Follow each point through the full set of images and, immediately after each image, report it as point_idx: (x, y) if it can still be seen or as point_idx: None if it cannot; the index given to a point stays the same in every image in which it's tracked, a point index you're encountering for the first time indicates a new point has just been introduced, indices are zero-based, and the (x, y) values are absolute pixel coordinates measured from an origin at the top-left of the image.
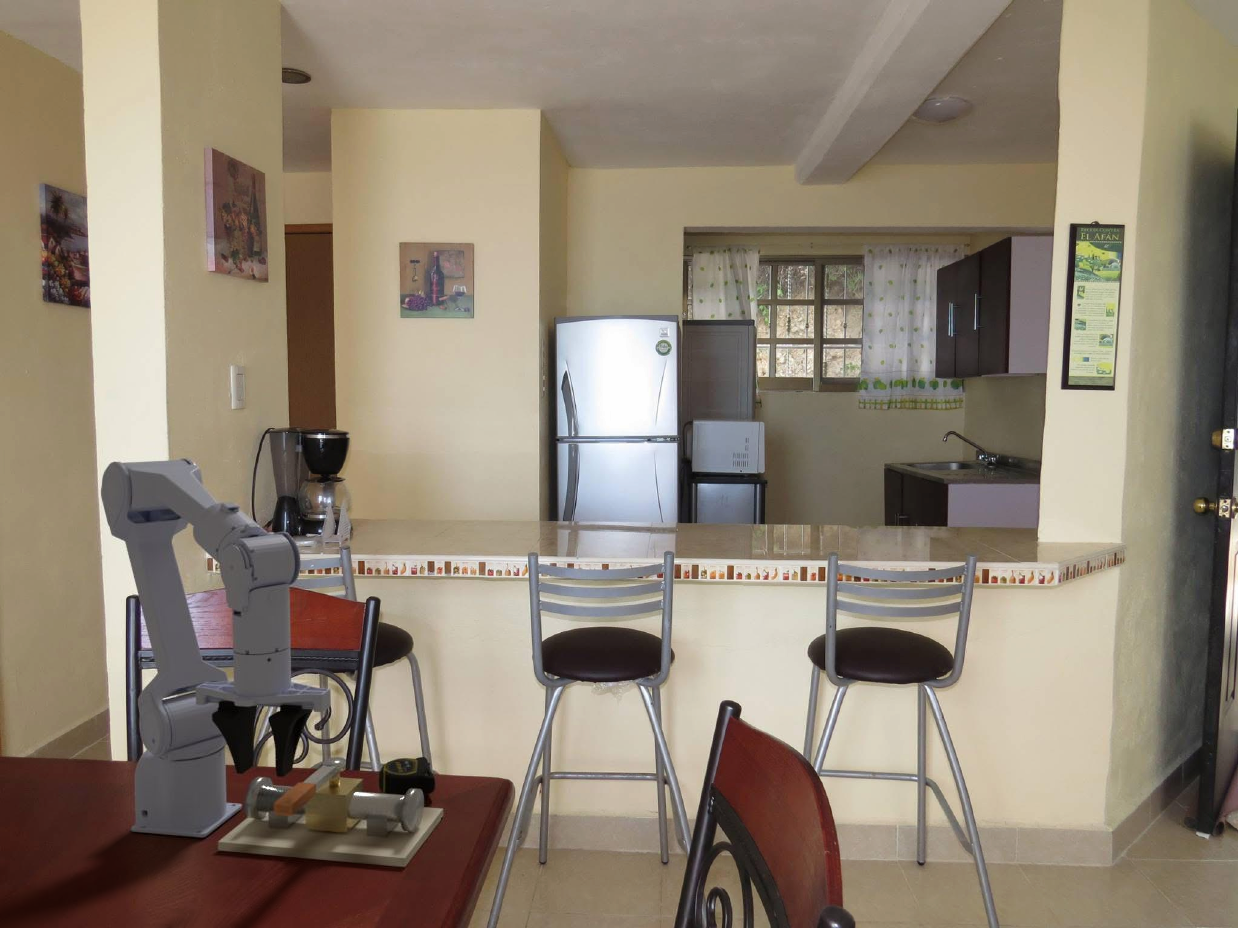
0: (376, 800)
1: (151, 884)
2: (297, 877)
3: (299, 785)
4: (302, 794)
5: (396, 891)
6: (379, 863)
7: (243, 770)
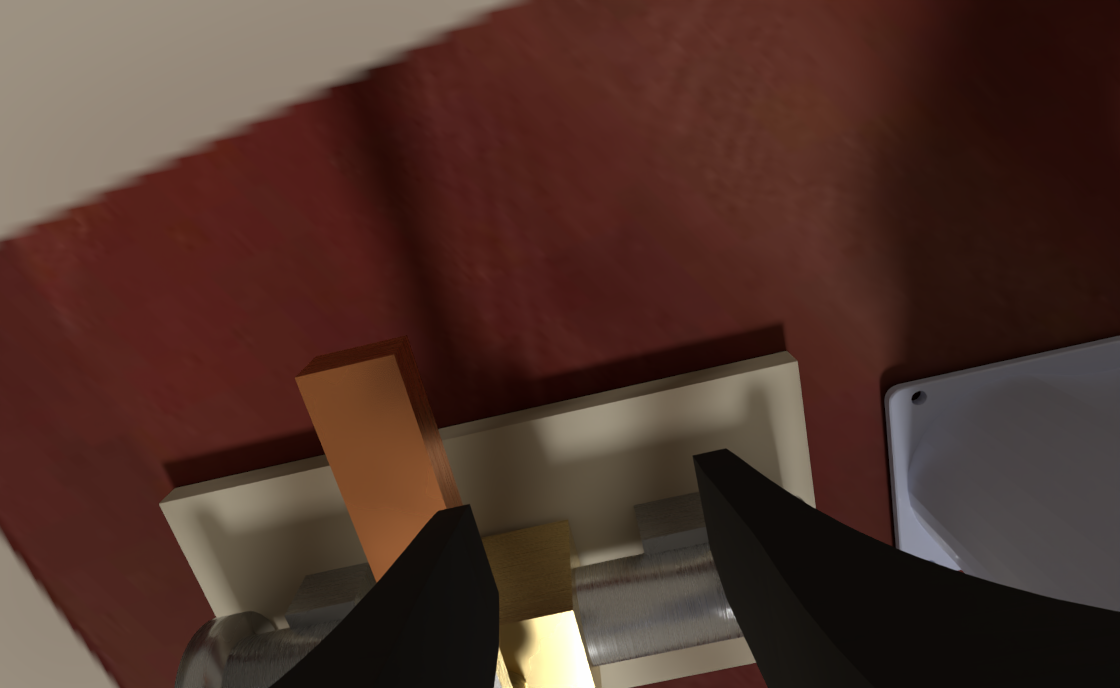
0: None
1: (843, 96)
2: (422, 321)
3: None
4: (341, 482)
5: (88, 373)
6: (251, 472)
7: (696, 473)
